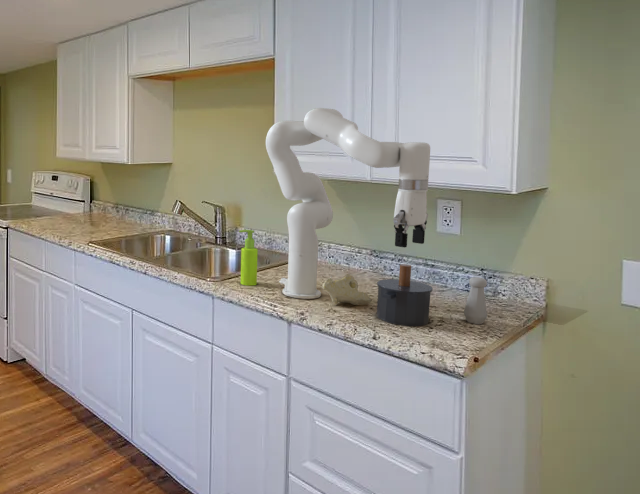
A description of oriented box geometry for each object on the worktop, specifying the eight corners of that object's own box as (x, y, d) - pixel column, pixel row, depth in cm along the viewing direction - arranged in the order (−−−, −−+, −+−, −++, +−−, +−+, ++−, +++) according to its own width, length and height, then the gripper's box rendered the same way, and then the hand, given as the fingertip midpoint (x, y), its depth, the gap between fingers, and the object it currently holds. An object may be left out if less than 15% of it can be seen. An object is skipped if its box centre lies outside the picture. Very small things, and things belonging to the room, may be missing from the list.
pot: (362, 318, 163) (364, 287, 161) (396, 307, 174) (398, 278, 172) (408, 331, 152) (410, 297, 150) (441, 318, 163) (443, 287, 161)
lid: (367, 287, 163) (368, 264, 162) (393, 280, 172) (394, 258, 171) (416, 298, 151) (418, 273, 150) (441, 290, 160) (443, 266, 159)
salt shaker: (488, 321, 160) (492, 278, 158) (484, 326, 155) (488, 281, 154) (465, 317, 164) (468, 274, 162) (461, 322, 159) (464, 278, 158)
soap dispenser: (238, 280, 207) (240, 228, 205) (257, 282, 205) (259, 229, 202) (236, 284, 202) (238, 230, 199) (255, 286, 199) (257, 231, 197)
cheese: (361, 304, 183) (325, 273, 187) (376, 292, 179) (339, 261, 182) (347, 329, 173) (309, 296, 176) (363, 317, 168) (323, 283, 171)
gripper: (415, 183, 165) (411, 240, 167) (384, 186, 155) (380, 246, 157) (441, 185, 159) (437, 243, 161) (410, 188, 149) (407, 250, 151)
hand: (409, 244), depth 159 cm, fingers open, 9 cm apart
